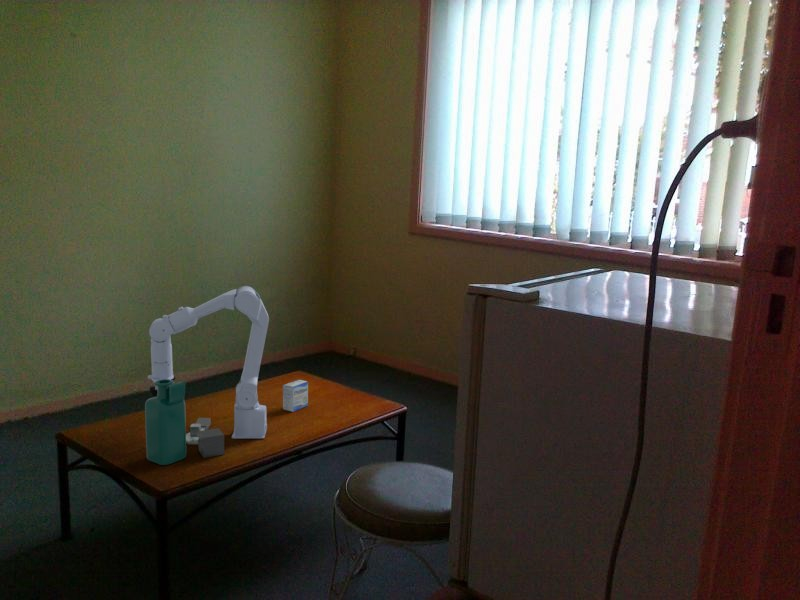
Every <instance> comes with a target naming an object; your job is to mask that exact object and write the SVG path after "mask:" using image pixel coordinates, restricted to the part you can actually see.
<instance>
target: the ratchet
mask: <svg viewBox="0 0 800 600" xmlns="http://www.w3.org/2000/svg"><path fill="white" fill-rule="evenodd" d="M211 422H212V421H211V417H198V419H197V420H196V422H194V423H191V424H190V426H189V432H188V433H187V432H186V445H189V446H191V445H192V446H193V445H194V446H195V445H198V446H199V439H198V431H203V430H209V428H210V426H211V425H212V423H211Z"/></svg>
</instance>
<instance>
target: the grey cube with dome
mask: <svg viewBox="0 0 800 600" xmlns="http://www.w3.org/2000/svg"><path fill="white" fill-rule="evenodd" d="M198 439H199V444H198V452H199V453H200V455H201V456H202V457H203V459H206V458H207V459H208V458H211V457H218V456H222V455H223V456H224V455H225V434H224V432H222V430H221V429H220V428H219V427H217V428H210V429H209V428H208V430H203V431H198Z"/></svg>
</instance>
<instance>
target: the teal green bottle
mask: <svg viewBox="0 0 800 600" xmlns="http://www.w3.org/2000/svg"><path fill="white" fill-rule="evenodd" d="M153 385H154V387H155V386H157V389H158V394H157V396H155V397H153V396H152V397H150V398H148V399H147V400H146V401H145V403H144V414H145V415H144V416H145V443H146V444H145V446H146V447H145V448H146V459H147V460H148V462H152V463H155V464H157V465H160V466H167V465H172V464H174V463H176V462H178V461H181V460H184V459H185V458H186V457H187V443H186V434H187V426H186V425H187V424H186V420H187V419H186V401H185V395H186V382H185V381H180V382H175V380H170V379H162V380H158V381H156V382H153Z"/></svg>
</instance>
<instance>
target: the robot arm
mask: <svg viewBox="0 0 800 600" xmlns="http://www.w3.org/2000/svg"><path fill="white" fill-rule="evenodd" d="M235 308H236V309H237V310H238V311H239V312H241V313H242V314H244V315H245V316H247V318H248V319H249V320H250V321H251V328H250V331H249V332H250V333H249V339H248V343H247V349H246V354H245V359H244V364H243V369H242V373H241V376H240V380H239V382H237V384H236V386H235V403H234V405H233V408H234V409H233V410H234V411H233V414H234V422H233V423H234V425H233V426H234V429H233V433H232V435H231V439H235V440H237V439H265V437H266V434H267V430H268V424H267V405H263V404H260V402H259V396H258V381H259V380H258V379H259V373H260V368H261V364H262V363H261V362H262V359H263V353H264V348H265V344H266V343H265V342H266V337H267V333H268V327H269V323H270V317H269V314H268V311H267V309H266V307H265V305H264V303H263V300H262V299H261V296H260V294H259V293H258V292H257V291H256V290H255V289H254V288H253V287H251V286H249V285H243V286H240V287H238V289H237V288H235V289H232V290H229V291H226V292H224V293H222V294H220V295H218V296H216V297H214V298H212V299H210V300H207V301H206V302H203V303H202V304H200V305H198V306H195V307H194V308H193V307H189V306H185V307H183V306H180V307H178V308H177V311H174V312H172V313H170V314H168V315H167V314H164V315H162V318H156V319H154V320H153V321H152V323H151V325H150V327H149V328H148V329H149V330H148V334H149V338H150V343H151V345H150V359H151V361H150V363H151V374H149V375H147V379H148V380H151V381H152V382H153V383H154V382H156V381H158V380H162V379H170V380H174V381H175V380H176V376H174V369H173V366H174V365H173V363H174V362H173V346H172V339H171V336H172V335H176V334H178V333H181V332H183V331H186V330H187V329H190V328H191V327H194V326H196V325H197V323H198V320H199V319H201V318H203V317H206V316H208V315H210V314H213V313H215V312H218V311H220V310H223V309H227V310H232V311H234V310H235ZM149 392H150V394H151V395H152V397H155V396H157V394H158V389H157V386H155V385H154V386H150V387H149Z"/></svg>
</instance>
